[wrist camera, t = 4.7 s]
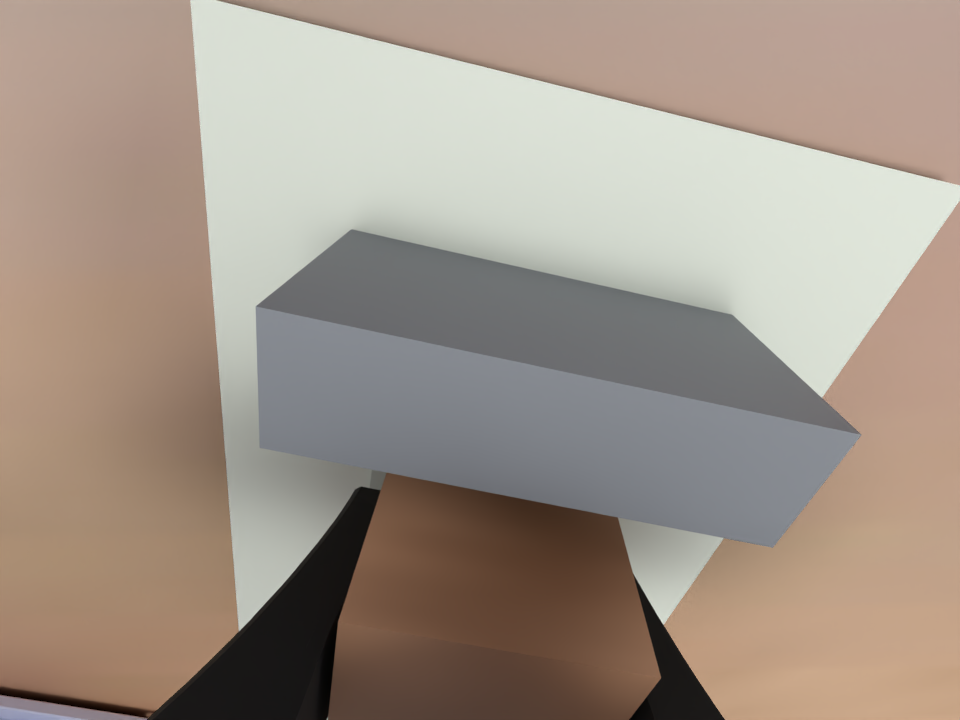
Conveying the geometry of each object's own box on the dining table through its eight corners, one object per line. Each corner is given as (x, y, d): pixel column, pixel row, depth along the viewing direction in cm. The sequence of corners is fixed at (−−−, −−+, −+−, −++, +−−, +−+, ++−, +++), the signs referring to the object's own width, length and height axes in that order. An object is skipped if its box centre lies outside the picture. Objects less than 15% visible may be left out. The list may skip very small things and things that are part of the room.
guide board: (251, 696, 17) (186, 848, 14) (209, 0, 7) (-89, -104, 3) (564, 747, 18) (579, 904, 14) (942, 183, 8) (1307, 250, 4)
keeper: (382, 562, 12) (320, 790, 8) (408, 404, 9) (337, 621, 5) (534, 589, 12) (547, 825, 8) (598, 443, 10) (660, 678, 6)
